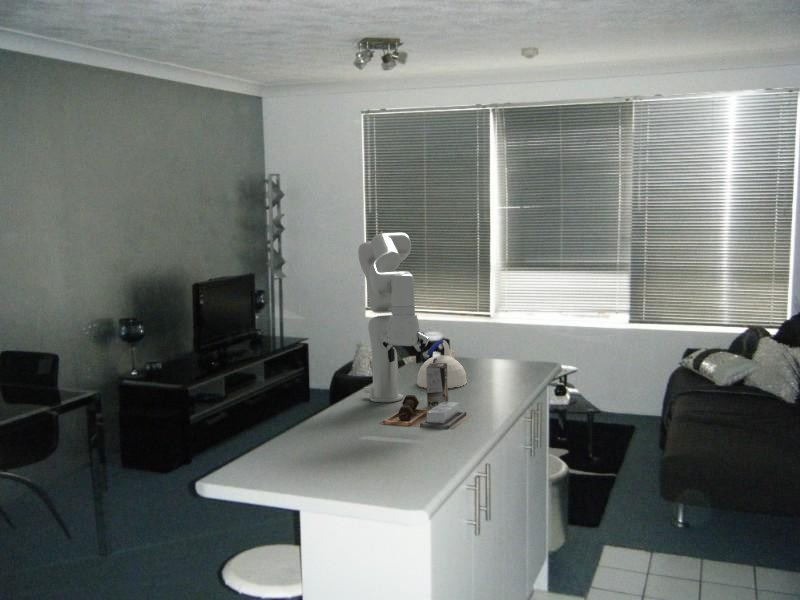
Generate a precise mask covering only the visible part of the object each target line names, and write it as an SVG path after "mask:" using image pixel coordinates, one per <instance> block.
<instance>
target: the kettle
mask: <svg viewBox="0 0 800 600" xmlns="http://www.w3.org/2000/svg"><path fill="white" fill-rule="evenodd" d="M441 344H442V345H443V348H444V349H443V350H444V353H443V354H441V355H435V356H432V355H433V352H434V351H435V350H436V348H437V347H438V346H440V345H441ZM456 355H457V353H456V351H455V350H453V349H450V345H449V343H448V342H447V341H446V340H445V339H444V340H443V339H440V340H437V341H435V343H433V344H432V345H431V346H430V348H429V350H428V351H427V353H426V356H432V357H430V358H428V359H427V360H426V361H424V363H423V364H422V365H421V366H420V368H419V369H418V373H417V382H416V385H417V386H418V387H420V388H423V387H424V389H427V372H426V368H427V367H428V365H429V364H430V363H432V364H435V363H447V377H448V388H450V389H454V388H453V387H457V388H461V387H464V386H466V385H467V384H466V383H468V382H467V381H468V380H467V373H466V371H465V368H464V366H463V365H462V364H461V363H460V362H459V361H458V360H456V359H455V356H456ZM465 384H466V385H465ZM463 385H464V386H463ZM460 386H461V387H460Z"/></svg>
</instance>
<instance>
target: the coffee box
mask: <svg viewBox="0 0 800 600" xmlns="http://www.w3.org/2000/svg"><path fill="white" fill-rule="evenodd" d="M426 372H427V388H426V403H427V404H426V406H427V410H431V409H432V408H434V407H435V406H437V405H438V404H440V403H441V402H449V389H448V377H447V363H435V364H432V363H430V364H429V365H428V367H427V368H426Z"/></svg>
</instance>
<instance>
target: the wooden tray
mask: <svg viewBox="0 0 800 600" xmlns="http://www.w3.org/2000/svg"><path fill="white" fill-rule="evenodd" d="M428 411H429V410H428V409H425V408H424V409H422V408H416V409H415V410H413V414H412V416H411V417H410V419H407V420H406V421H401V420H400V419H399V414H398V412H399V410H398V411H397V412H394V413H393V414H391V415H390V416H388V417H387V418H385V419H383V420H382V421H380V422H379V423H378V424H379V425H387V426H389V425H390V426H403V427H417V428H418V427H419V428H428V429H442V430H454V429H455V428H457V427H458V426H460V425H461V424H463V422H465V421H466V420H468V419H469V418H470V417H471V416H472V415H471V414H467V411H460V415H459V416H458V417H457V418H455V419H454V420H453V421H451V422H450V423H449V424H447V425H442V424H428V423H427V412H428Z"/></svg>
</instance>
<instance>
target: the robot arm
mask: <svg viewBox="0 0 800 600" xmlns="http://www.w3.org/2000/svg"><path fill="white" fill-rule="evenodd" d="M357 249H358V251H357V252H358V253H357V254H358V261H359V264H360V267H361V269H362V272H363V274H364V276H365V279H366V285H367V287H366V288H367V296H368V303H369V308H370V310H371V312H372V313H375V314H385V315H378V316H374V317H372V318H371V319H370V320H369V321H368V327H367V329H368V334H369V339H370V345H371V364H372V370H371V371H372V387H370V386H369V387H368V386H364V388H363V390H364V393H365V394H370V396H369V401H371V402H375V403H394V402H399V401H401V400H404V395H403V394H401V393H400V392H399V391H400V390H399V364H398V352H397V350H396V348H395V346H397V347H414V349H415V350H416V351H415V364H420V363H422V361H423V350H424V349H425V348H426V347H427V346H428V343H429V341H430V337H429V336H427V335H424V334H423V333H421V330H420V323H419V319H418V315H417V314H416V310H415V309H416V308H415V307H416V304H415V302H416V301H415V278H414V275H413V274H412V273H411V272H410V271H405V270H403V271H395V270H397V269H398V267H399V266H400V264H401V262H403V261H404V260H406V258H407V257H408V256H409V255H410V254H411V251H412V241H411V238H410V237H409V235H408V234H407V233H405V232H384V233H383V232H382V233H378V234H376V235H374V236H373V237H372V239H371V241H366V242H365V241H364V242H363V243H361V244H360V245H359V246H358V248H357ZM389 313H390V314H389ZM386 314H387V315H386ZM421 340H422V341H423V342H422V343H421Z"/></svg>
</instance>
